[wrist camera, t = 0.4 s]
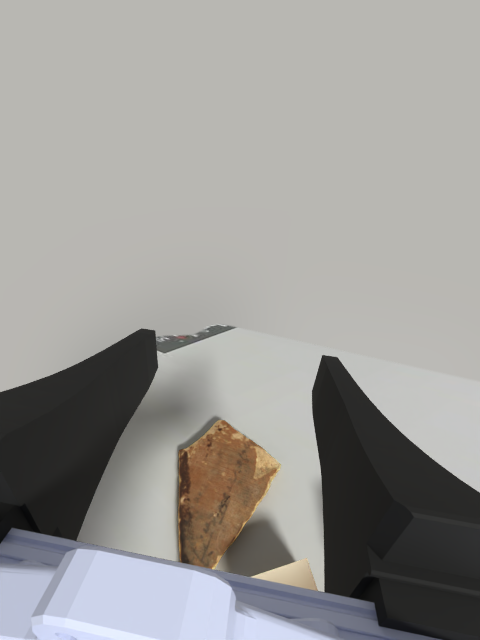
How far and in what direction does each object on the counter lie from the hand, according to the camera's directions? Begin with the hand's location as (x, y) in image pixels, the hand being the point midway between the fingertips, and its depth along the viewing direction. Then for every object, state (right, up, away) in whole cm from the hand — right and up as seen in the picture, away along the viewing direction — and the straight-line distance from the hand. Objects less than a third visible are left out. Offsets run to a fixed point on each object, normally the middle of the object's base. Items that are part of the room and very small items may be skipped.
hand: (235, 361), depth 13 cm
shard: (0, -15, +14) cm, 21 cm away
